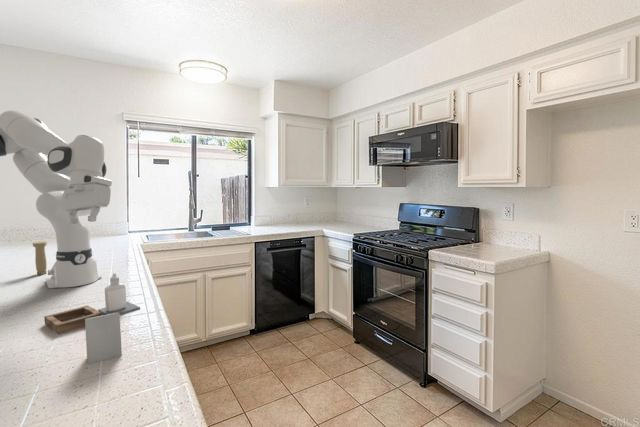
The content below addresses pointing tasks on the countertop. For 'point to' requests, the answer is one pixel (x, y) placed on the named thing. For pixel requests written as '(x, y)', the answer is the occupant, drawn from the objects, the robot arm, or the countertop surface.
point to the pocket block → (57, 319)
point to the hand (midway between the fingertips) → (82, 222)
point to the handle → (40, 257)
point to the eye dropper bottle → (115, 295)
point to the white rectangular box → (103, 337)
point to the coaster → (127, 309)
